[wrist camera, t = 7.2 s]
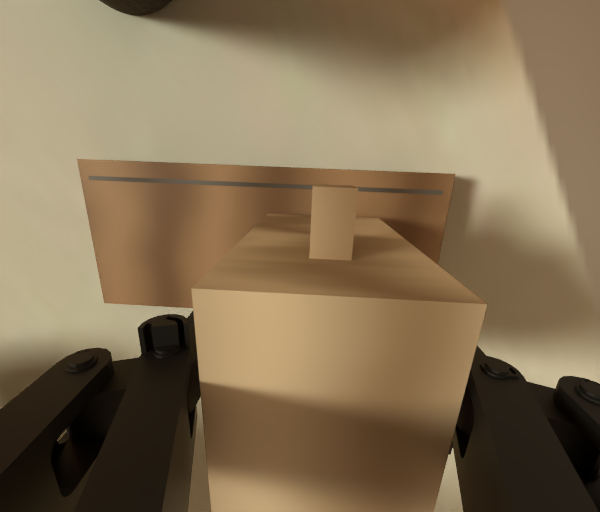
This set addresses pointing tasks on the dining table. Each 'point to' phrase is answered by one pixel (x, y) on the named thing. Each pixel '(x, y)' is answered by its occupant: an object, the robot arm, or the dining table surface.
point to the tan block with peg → (330, 364)
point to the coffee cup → (136, 6)
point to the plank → (227, 216)
